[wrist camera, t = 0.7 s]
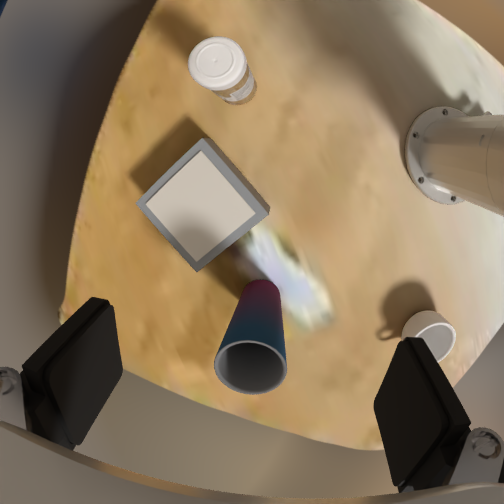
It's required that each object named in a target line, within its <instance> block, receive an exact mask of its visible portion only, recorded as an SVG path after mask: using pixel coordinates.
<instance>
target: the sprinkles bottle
mask: <svg viewBox="0 0 504 504" xmlns="http://www.w3.org/2000/svg"><path fill="white" fill-rule="evenodd" d="M188 69H189V72H190V75H191V76H192V78H193V79H194V80H195V81H196V82H197V83H198V84H200V85H201V86H203V87H205V88H207V89H210V90H211V91H213V92H214V93H215V94H216V95H218V96H219V97H221V98H222V99H223V100H224V101H225V102H227V103H229V104H232V105H242V104H245V103H247V102H249V101H250V100H251V99H252V98H253V97H254V95H255V93H256V88H257V85H256V81H255V79H254V77H253V75H252V73H251V70H250V68H249V66H248V64H247V61H246V57H245V54H244V52H243V50H242V49H241V47H240V46H239V45H238V44H237V43H236V42H235V41H233V40H232V39H229V38H226V37H220V36H216V37H210V38H207V39H205V40H203V41H201V42H200V43H198V44H197V45H196V46H195V47H194V49H193V50H192V52H191V53H190V55H189V59H188Z"/></svg>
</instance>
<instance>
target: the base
mask: <svg viewBox="0 0 504 504" xmlns="http://www.w3.org/2000/svg"><path fill="white" fill-rule="evenodd" d="M136 204H137V206H138V207H139V208H140V209H141V210H142V211H143V213H144V214H145V215H146V216H147V217H148V218H149V220H150V221H151V222H152V223H153V224H154V225H155V226H156V228H157V229H158V230H159V231H160V232H161V233H162V234H163V236H164V237H165V238H166V239H167V240H168V241H169V242H170V243H171V245H172V246H173V247H174V248H175V249H176V250H177V251H178V252H179V253H180V255H181V256H182V257H183V258H184V259H185V260H186V261H187V262H188V263H189V264H190V266H191V267H192V268H193V269H194V270H195V271H196V272H198V271H199V270H200V269H202V268H203V267H204V266H205V265H207V264H208V263H209V262H210V261H211V260H213V259H214V258H215V257H216V256H218V255H219V254H220V253H221V252H223V251H224V250H225V249H226V248H228V247H229V246H230V245H231V244H233V243H234V242H235V241H236V240H237V239H239V238H240V237H241V236H242V235H244V234H245V233H246V232H247V231H249V230H250V229H251V228H252V227H254V226H255V225H256V224H257V223H259V222H260V221H261V220H262V219H264V218H265V217H266V216H267V215H269V211H270V206H269V205H268V204H267V203H266V202H265V200H264V199H263V198H262V197H261V196H260V194H259V193H258V192H257V191H256V190H255V189H254V187H253V186H252V185H251V184H250V183H249V182H248V180H247V179H246V178H245V177H244V176H243V175H242V173H241V172H240V171H239V170H238V169H237V168H236V167H235V165H234V164H233V163H232V162H231V161H230V160H229V159H228V157H227V156H226V155H225V154H224V153H223V152H222V151H221V149H220V148H219V147H218V146H217V145H216V144H215V143H214V142H213V140H212V139H211V138H202V139H200V140H199V141H198V142H197V143H196V144H195V145H194V146H193V147H192V148H191V149H190V150H188V151H187V152H186V153H185V154H184V155H183V156H182V157H181V158H180V159H179V160H178V161H177V162H176V163H175V164H174V165H173V166H172V167H171V168H170V169H169V170H168V171H167V172H166V173H165V174H164V175H163V176H162V177H161V178H160V179H159V180H158V181H157V182H156V183H155V184H154V185H153V186H152V187H151V188H150V189H149V190H148V191H147V192H146V193H145V194H144V195H143V196H142V197H141V198H140V199H139V200H138V201H137V202H136Z"/></svg>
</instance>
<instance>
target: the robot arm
mask: <svg viewBox="0 0 504 504" xmlns="http://www.w3.org/2000/svg"><path fill="white" fill-rule="evenodd" d="M442 111H443V113H442ZM413 133H414V134H415V137H413ZM405 159H406V164H407V169H408V171H409V174H410V177H411V179H412V180H413V182H414V184H415V185H416V187H417V188H418V189H419V190H420V191H421V192H422V193H423V194H424V195H425V196H426V197H428V198H430V199H432V200H433V201H436V202H438V203H441V204H447V205H452V204H458V203H461V202H463V201H465V200H466V201H468V202H471V203H473V204H475V205H478V206H480V207H483V208H485V209H487V210H489V211H492V212H494V213H496V214H499V215H501V216H503V217H504V115H492V114H491V113H490V112H488V111H487V112H486V113H485V114H483V115H482V116H468V115H466V114H465V113H463V112H462V111H460V110H458V109H455V108H452V107H447V106H443V107H435V108H431V109H429V110H426V111H424V112H423V113H422V114H420V115H419V116H418V117H417V118H416V120H415V121H414V122H413V123H412V125H411V127H410V129H409V132H408V135H407V138H406V144H405ZM418 178H420V180H419V181H418ZM451 196H452V198H451ZM22 368H23V371H22V372H21V373H20V374H19V373H18V371H16V370H15V369H13V368H9V367H0V504H504V442H503V440H502V438H501V437H500V436H499V435H498V434H497V433H496V432H494V431H493V430H491V429H488V428H480V427H479V428H476V429H474V430H472V431H471V430H470V428H469V425H470V424H471V421H470V419H469V417H468V416H467V414H466V412H465V410H464V408H463V406H462V404H461V402H460V401H459V399H458V397H457V395H456V393H455V392H454V390H453V388H452V386H451V384H450V383H449V381H448V379H447V377H446V376H445V374H444V372H443V371H442V369H441V367H440V365H439V364H438V362H437V360H436V359H435V357H434V355H433V354H432V352H431V350H430V349H429V347H428V346H427V344H426V342H425V341H424V339H423V338H421V337H406V338H404V340H403V341H400V342H399V343H398V345H397V348H396V351H395V353H394V356H393V358H392V361H391V363H390V365H389V368H388V370H387V373H386V375H385V377H384V380H383V382H382V384H381V386H380V389H379V391H378V393H377V395H376V397H375V400H374V412H375V415H376V419H377V422H378V426H379V430H380V434H381V437H382V441H383V445H384V449H385V453H386V457H387V461H388V465H389V469H390V474H391V478H392V482H393V485H394V486H397V487H398V491H399V493H396V494H387V495H379V496H367V497H354V498H334V499H333V498H332V499H300V498H277V497H263V496H252V495H243V494H235V493H227V492H221V491H214V490H207V489H202V488H197V487H192V486H187V485H182V484H178V483H173V482H169V481H165V480H161V479H156V478H153V477H149V476H145V475H142V474H138V473H135V472H132V471H128V470H125V469H122V468H119V467H116V466H113V465H110V464H107V463H104V462H101V461H98V460H96V459H93V458H90V457H88V456H85V455H82V454H80V453H77V452H75V451H73V449H74V448H75V446H76V445H80V444H81V443H82V442H83V440H84V438H85V436H86V435H87V433H88V431H89V430H90V428H91V426H92V424H93V423H94V421H95V419H96V418H97V416H98V414H99V412H100V411H101V409H102V408H103V406H104V404H105V402H106V401H107V399H108V398H109V396H110V394H111V393H112V391H113V389H114V387H115V386H116V384H117V383H118V381H119V379H120V377H121V376H122V371H123V366H122V361H121V355H120V349H119V342H118V335H117V328H116V320H115V312H114V307H113V306H112V305H110V303H109V301H108V300H105V299H100V298H96V297H91V298H90V299H89V300H88V301H87V302H86V303H85V304H84V305H82V306H81V307H80V308H79V309H78V310H77V311H76V312H75V313H74V314H73V315H72V316H71V317H70V318H69V319H68V320H67V321H66V322H65V323H64V324H63V325H61V327H59V328H58V329H57V330H56V331H55V332H54V333H53V334H52V335H51V336H50V337H49V338H48V339H47V340H46V341H45V342H44V343H43V344H42V345H41V346H40V347H39V348H38V349H37V350H36V352H34V353H33V354H32V355H31V357H30V358H29V359H28V360H27V361H26V362H25V363H24V364H23V365H22Z"/></svg>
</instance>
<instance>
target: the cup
mask: <svg viewBox="0 0 504 504" xmlns="http://www.w3.org/2000/svg"><path fill="white" fill-rule="evenodd" d="M214 369H215V372H216V375H217V376H218V378H219V379H220V381H221V382H222V383H223V384H225V385H226V386H227V387H229V388H230V389H232V390H234V391H237V392H240V393H244V394H252V395H253V394H262V393H267V392H269V391H272V390H273V389H275V388H277V387H278V386H279V385H280V384H281V383H282V382H283V380H284V379H285V376H286V373H287V363H286V352H285V341H284V330H283V320H282V310H281V300H280V292H279V290H278V288H277V287H276V286H275V285H274V284H273V283H272V282H270V281H267V280H261V279H260V280H255V281H252V282H250V283H249V284H247V286H246V287H245V288H244V290H243V293H242V295H241V297H240V300H239V302H238V305H237V307H236V309H235V312H234V314H233V317H232V319H231V321H230V324H229V326H228V328H227V331H226V333H225V336H224V338H223V340H222V343H221V345H220V348H219V350H218V352H217V355H216V357H215V361H214Z"/></svg>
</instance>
